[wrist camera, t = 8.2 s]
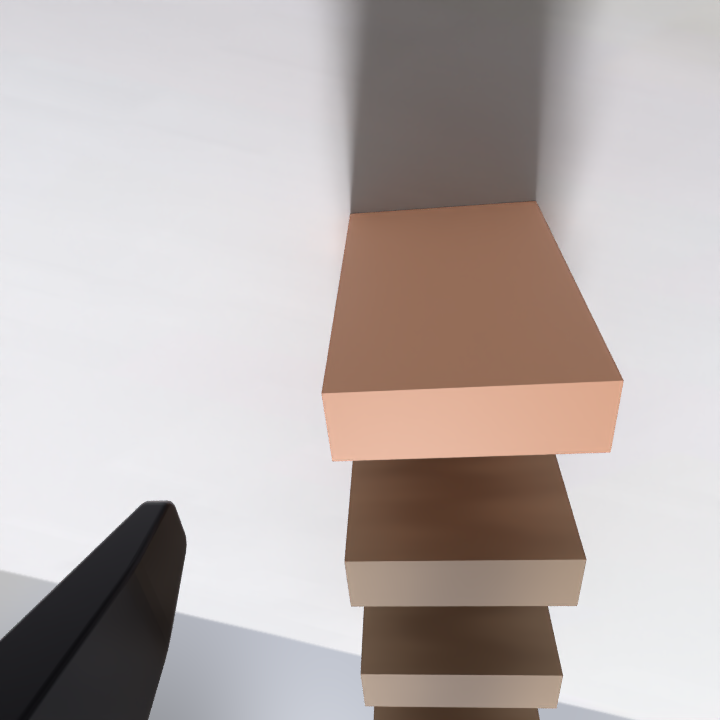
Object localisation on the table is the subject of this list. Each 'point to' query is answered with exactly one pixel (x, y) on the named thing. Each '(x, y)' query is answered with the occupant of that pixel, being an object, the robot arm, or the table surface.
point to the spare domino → (463, 341)
